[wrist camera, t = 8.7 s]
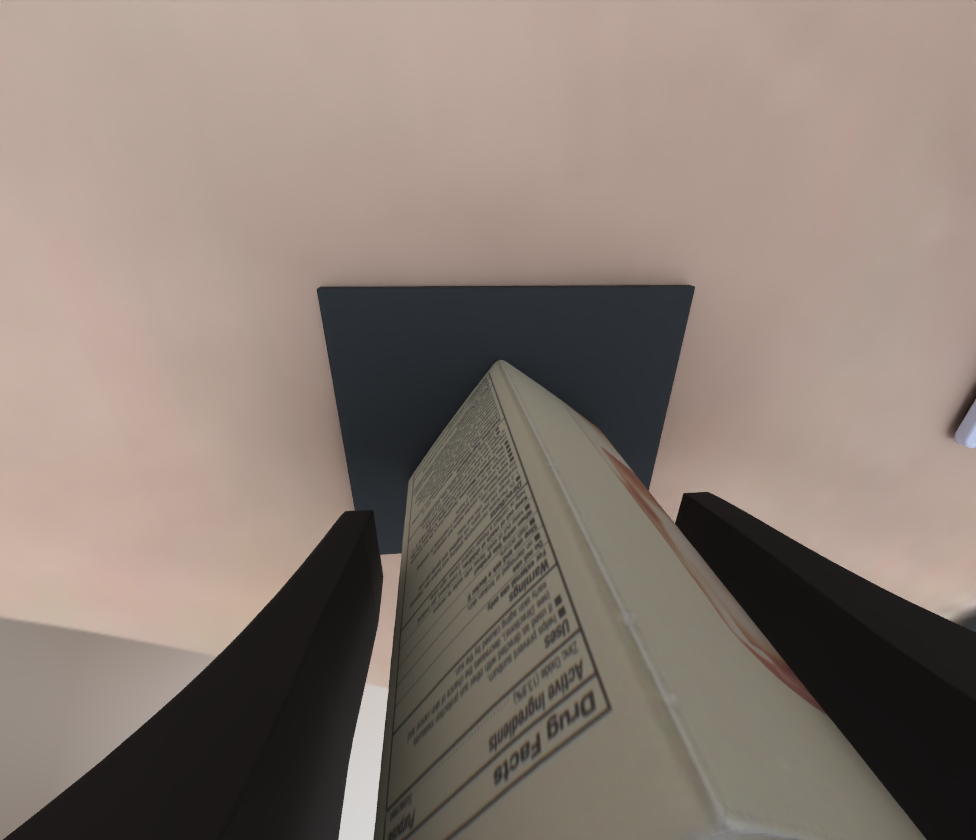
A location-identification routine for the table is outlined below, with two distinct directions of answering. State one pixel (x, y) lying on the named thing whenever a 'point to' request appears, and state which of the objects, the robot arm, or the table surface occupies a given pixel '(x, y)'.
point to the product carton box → (588, 660)
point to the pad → (471, 353)
